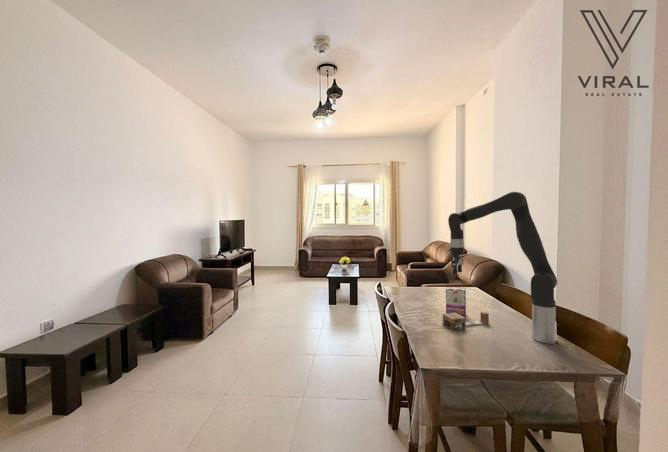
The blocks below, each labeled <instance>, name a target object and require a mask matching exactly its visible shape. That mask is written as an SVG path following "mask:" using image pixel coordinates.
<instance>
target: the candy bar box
mask: <svg viewBox="0 0 668 452" xmlns="http://www.w3.org/2000/svg"><path fill="white" fill-rule="evenodd" d="M466 295H467V292H466V288H462V287H448V286H446V288H445V312H446V313H457V314H459V315H461V316H463V317H465V318H466V316H467V301H466V300H467V299H466V297H467V296H466Z"/></svg>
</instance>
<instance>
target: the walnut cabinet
mask: <svg viewBox="0 0 668 452" xmlns="http://www.w3.org/2000/svg"><path fill="white" fill-rule="evenodd" d="M466 322H467V320H466V316H465V317H463V316H461V315H459V314H457V313H442V325H444V326H447V325H450V324H451V327H450V330H451V331H455V328H454V324H457V325H458V324H461V328H462V329H463V330H465V329H466Z"/></svg>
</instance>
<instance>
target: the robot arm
mask: <svg viewBox="0 0 668 452" xmlns="http://www.w3.org/2000/svg"><path fill="white" fill-rule="evenodd" d="M507 210H510V211H511V213H512V215H513V218H514V221H515V231H516V232H515V234H516V239H517V241H518V244H519V246H520V248H521V250H522V253H524V255H525V256H526V258H527V259H528V261H529V262H530V264H531V267H532V269H533V276H532V277H531V278H530V298H531V303H532V304H531V305H532V306H531V307H532V308H531V313H532V314H531V318H532V319H531V320H532V321H531V337H532V339H533V340H534V341H537V342H539V343H542V344H543V343H544V344H550V345H551V344H552V345H555V343H556V342H557V331H558V330H557V326H558V323H557V321H556V314H557V313H556V308H557V307H556V305H557V304H556V302H557V301H556V300H555V288H556V286H557V284H558V279H557V276H556V274H555V273H554V270H553V269H552V267H551V264H550V262H549V260H548V258H547V253H546V251H545V248H544V245H543V242H542V239H541V236H540V233H539V232H538V229H537V226H536V225H535V223H534V220H533V218H532V216H531V212H530V207H529V203H528V200H527V197H526V195H525V194H523V193H522V192H519V191H510V192H508V193H505V194H503V195H502V196H500V197H497V198H496V199H493V200H492V201H491V200H490V201H488V202H485V203H483V204H478V205H476V206H473V207H470V208H467V209H466V210H464V211H461V212H452V213H450V215H449V216H448V218H447V221H448V222H447V224H448V226H449V230H450V245H449V246H450V255H452V256H451V260H450V261H451V262H450V263H451V266H450V267H451V268H452V274H453V275H455V276H457V275H458V273H459V274H461V273H462V272H463V265H464V255H465V239H464V230H463V229H462V228H461V225H463V224H466V223H469V222H471V221H474V220H479V219H481V218H485V217H487V216H488V215H491V214H494V213H496V212H501V211H507Z"/></svg>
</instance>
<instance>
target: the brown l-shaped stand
mask: <svg viewBox="0 0 668 452" xmlns="http://www.w3.org/2000/svg"><path fill="white" fill-rule="evenodd" d="M489 314H490V313H489V312H487V311H480V320H476V321H475V320H474V321H466V327H476V326H485V325H489V323H490V321H489V319H490V317H489Z"/></svg>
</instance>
